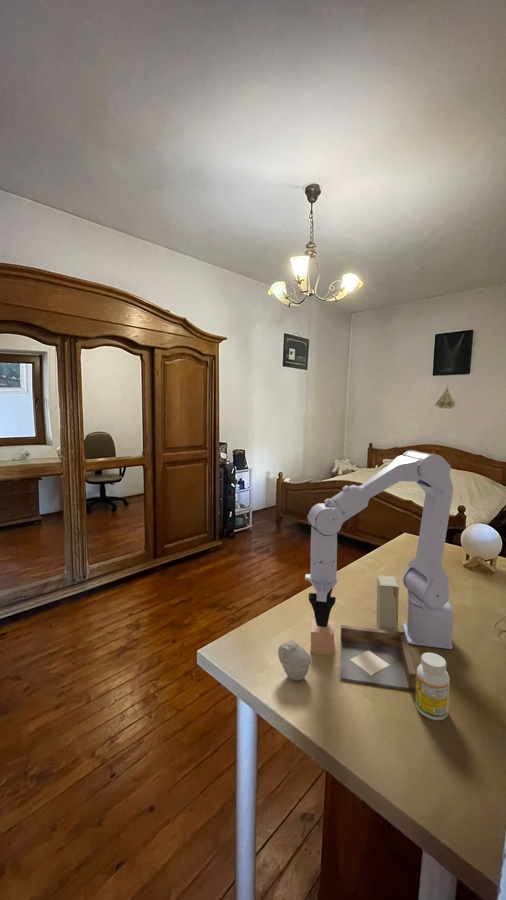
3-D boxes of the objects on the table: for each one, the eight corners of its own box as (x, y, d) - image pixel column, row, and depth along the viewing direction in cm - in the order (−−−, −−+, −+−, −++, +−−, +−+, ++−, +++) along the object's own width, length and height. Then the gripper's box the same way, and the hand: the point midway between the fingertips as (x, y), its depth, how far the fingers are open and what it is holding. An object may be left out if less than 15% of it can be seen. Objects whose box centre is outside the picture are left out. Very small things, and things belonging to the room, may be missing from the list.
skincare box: (398, 636, 90) (399, 587, 89) (379, 634, 91) (380, 585, 90) (393, 621, 97) (395, 575, 95) (375, 620, 97) (377, 574, 96)
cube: (334, 642, 88) (334, 622, 88) (333, 656, 84) (333, 634, 83) (312, 639, 90) (312, 619, 89) (310, 652, 85) (310, 631, 84)
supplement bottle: (443, 726, 65) (446, 674, 64) (411, 710, 68) (413, 660, 67) (451, 707, 69) (453, 658, 68) (420, 693, 72) (422, 646, 71)
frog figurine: (285, 662, 81) (285, 631, 81) (316, 673, 78) (317, 641, 77) (272, 679, 76) (272, 647, 76) (304, 693, 73) (305, 658, 72)
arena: (404, 646, 86) (404, 632, 86) (415, 691, 73) (416, 674, 72) (340, 638, 90) (341, 624, 89) (340, 680, 76) (340, 663, 76)
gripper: (308, 545, 92) (307, 598, 94) (302, 570, 78) (301, 632, 80) (338, 547, 91) (337, 602, 92) (337, 573, 77) (336, 636, 78)
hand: (322, 616), depth 86 cm, fingers open, 7 cm apart
